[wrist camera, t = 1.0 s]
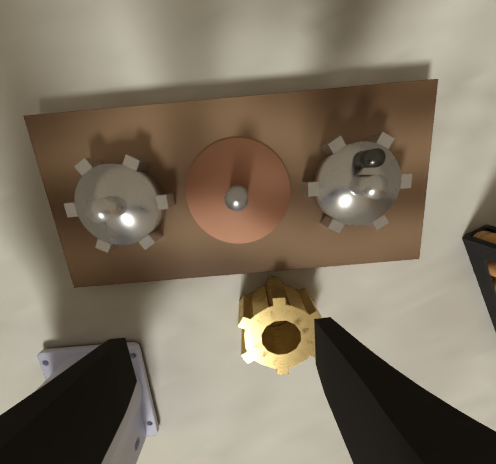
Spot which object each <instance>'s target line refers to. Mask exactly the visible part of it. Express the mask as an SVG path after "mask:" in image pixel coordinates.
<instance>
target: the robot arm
mask: <svg viewBox="0 0 496 464" xmlns="http://www.w3.org/2000/svg"><path fill="white" fill-rule="evenodd" d="M314 330H315V356H316V366H317V370H318V373H319V377H320V380H321V383H322V386H323V390H324V393H325V396H326V398H327V400H328V403H329V405H330V408H331V410H332V413H333V415H334V418H335V420H336V422H337V425H338V427H339V430H340V432H341V434H342V437H343V439H344V442H345V444H346V447H347V449H348V451H349V454H350V456H351V459H352V461H353V463H354V464H496V432H495V431H494V430H492V429H490V428H488V427H487V426H485V425H483V424H481V423H479V422H478V421H476V420H474V419H472V418H471V417H469V416H467V415H466V414H464V413H462V412H461V411H459V410H457V409H455V408H454V407H452V406H451V405H449V404H447V403H446V402H444V401H443V400H441V399H440V398H438V397H436V396H435V395H433V394H432V393H430V392H428V391H427V390H425V389H424V388H422V387H421V386H419V385H418V384H416V383H415V382H413V381H412V380H410V379H409V378H407V377H406V376H405V375H403V374H402V373H400V372H399V371H398V370H396V369H395V368H393V367H392V366H390V365H389V364H388V363H386V362H385V361H384V360H382V359H381V358H380V357H378V356H377V355H376V354H375V353H373V352H372V351H371V350H369V349H368V348H367V347H366V346H364V345H363V344H362V343H361V342H359V341H358V340H357V339H356V338H355V337H353V336H352V335H351V334H350V333H349V332H347V331H346V330H345V329H344V328H343V327H341V326H340V325H339V324H338V323H337V322H335V321H334V320H333V319H332V318H331V317H328V318H318V319H314ZM133 353H135V354H136V355H134V354H133ZM38 360H39V363H40V365H41V368H42V371H43V373H44V376H45V379H46V381H45V382H44V383H43V384H42V385H41V386H40V387H39V388H38V389H37V390H36V391H35V392H34V393H32V394H31V395H29V396H28V397H26V398H25V399H23V400H22V401H21V402H19V403H18V404H16V405H15V406H13V407H12V408H10V409H9V410H7V411H6V412H5V413H3V414H2V415H0V464H136V462H137V460H138V457H139V454H140V452H141V449H142V446H143V444H144V441H145V438H146V436H155V435H156V434H157V433H158V430H159V425H158V421H157V417H156V413H155V408H154V404H153V400H152V396H151V391H150V387H149V383H148V379H147V374H146V370H145V366H144V362H143V357H142V353H141V349H140V346H139V344H138V343H136V342H126V339H125V338H117V339H109V340H108V341H106V342H104V343H103V344H101V345H89V346H77V347H65V348H52V349H44V350H42V351H41V352H40V353H39V354H38Z"/></svg>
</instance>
